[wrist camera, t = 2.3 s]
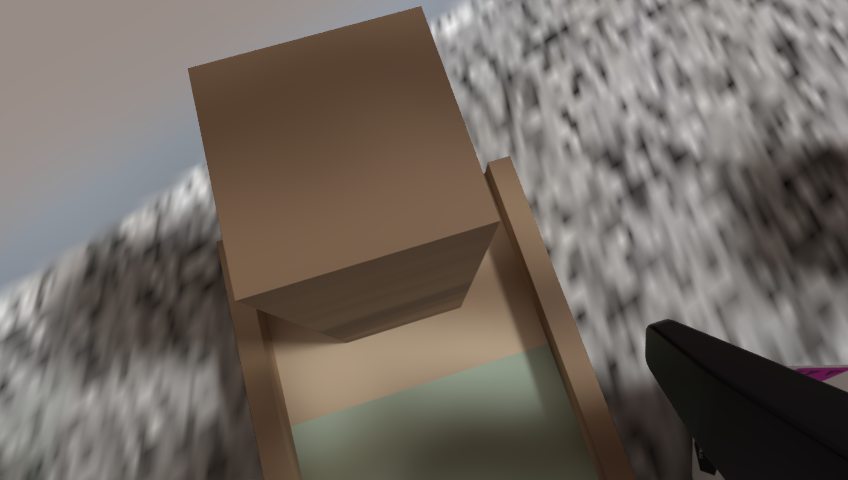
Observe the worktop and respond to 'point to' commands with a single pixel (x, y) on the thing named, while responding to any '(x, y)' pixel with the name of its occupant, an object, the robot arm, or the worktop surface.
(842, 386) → the supplement can
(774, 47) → the worktop surface
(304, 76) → the walnut block
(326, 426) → the tray
